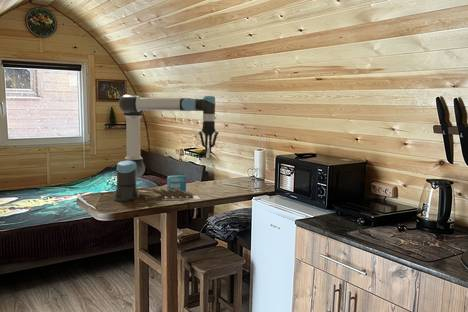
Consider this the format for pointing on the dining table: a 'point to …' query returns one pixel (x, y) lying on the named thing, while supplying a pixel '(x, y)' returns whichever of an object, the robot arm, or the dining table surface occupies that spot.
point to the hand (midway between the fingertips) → (207, 157)
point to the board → (181, 198)
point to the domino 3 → (168, 193)
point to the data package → (176, 182)
